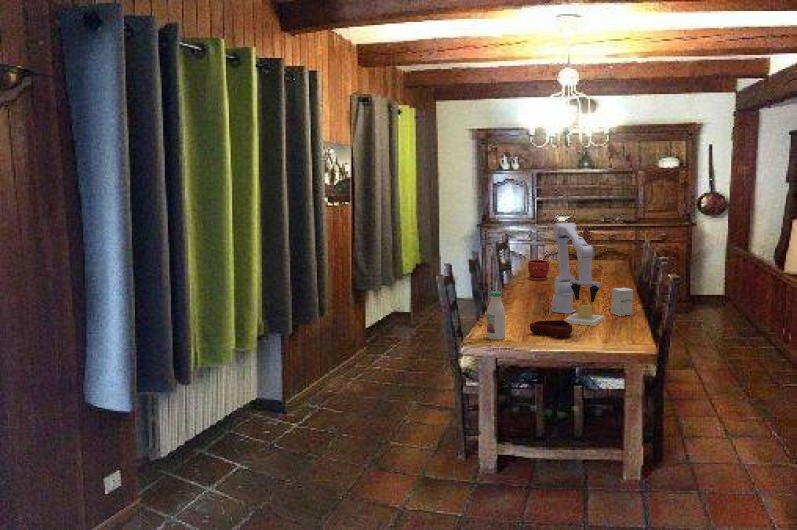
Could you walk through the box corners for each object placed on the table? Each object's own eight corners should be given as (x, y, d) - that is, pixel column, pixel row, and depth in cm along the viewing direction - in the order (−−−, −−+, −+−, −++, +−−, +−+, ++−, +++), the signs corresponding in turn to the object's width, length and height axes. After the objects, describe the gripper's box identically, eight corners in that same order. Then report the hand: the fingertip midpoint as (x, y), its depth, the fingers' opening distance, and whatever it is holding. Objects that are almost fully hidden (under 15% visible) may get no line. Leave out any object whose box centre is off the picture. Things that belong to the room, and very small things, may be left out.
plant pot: (526, 281, 449) (526, 262, 448) (529, 277, 462) (529, 259, 460) (548, 281, 446) (548, 262, 444) (550, 278, 458) (550, 259, 456)
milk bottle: (503, 335, 311) (503, 290, 308) (506, 339, 304) (506, 293, 301) (485, 336, 311) (485, 290, 308) (488, 340, 303) (488, 293, 301)
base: (564, 323, 332) (564, 318, 331) (574, 317, 343) (574, 313, 343) (595, 326, 324) (595, 321, 324) (604, 320, 336) (604, 315, 336)
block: (578, 317, 334) (578, 306, 333) (582, 315, 337) (583, 304, 336) (587, 318, 331) (587, 307, 330) (591, 316, 334) (592, 305, 333)
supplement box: (619, 316, 342) (620, 290, 340) (610, 313, 349) (611, 288, 347) (633, 315, 344) (633, 289, 342) (624, 312, 351) (624, 287, 349)
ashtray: (582, 333, 312) (582, 322, 311) (563, 341, 300) (563, 329, 299) (546, 328, 324) (546, 317, 323) (526, 335, 312) (526, 323, 311)
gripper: (566, 271, 332) (566, 300, 334) (595, 274, 323) (595, 304, 325) (574, 269, 338) (573, 298, 340) (602, 272, 328) (602, 301, 330)
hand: (584, 300), depth 332 cm, fingers open, 7 cm apart
